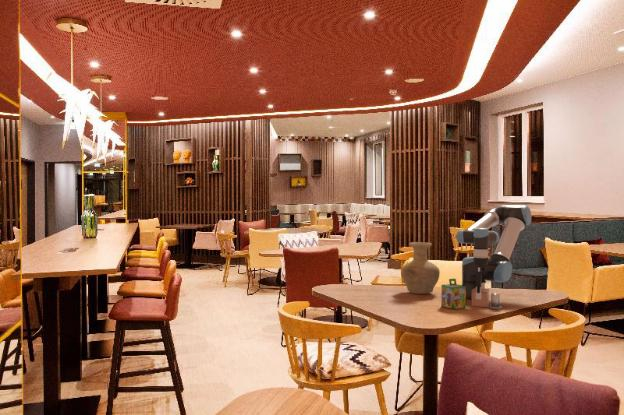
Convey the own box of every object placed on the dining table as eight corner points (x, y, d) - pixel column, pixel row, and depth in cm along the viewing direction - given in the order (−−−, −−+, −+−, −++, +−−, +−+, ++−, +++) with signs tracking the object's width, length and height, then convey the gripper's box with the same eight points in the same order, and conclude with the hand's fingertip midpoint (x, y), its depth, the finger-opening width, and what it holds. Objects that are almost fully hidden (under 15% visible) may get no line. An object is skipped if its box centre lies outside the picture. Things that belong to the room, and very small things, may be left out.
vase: (397, 295, 309) (397, 244, 308) (404, 289, 330) (405, 241, 329) (436, 298, 301) (437, 245, 300) (441, 291, 322) (442, 242, 321)
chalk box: (453, 309, 270) (453, 280, 269) (440, 306, 278) (440, 278, 277) (466, 308, 274) (466, 279, 274) (453, 304, 282) (453, 277, 282)
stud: (487, 308, 272) (487, 294, 272) (488, 306, 279) (489, 292, 278) (501, 310, 269) (501, 295, 269) (503, 307, 276) (503, 293, 276)
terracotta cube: (471, 305, 280) (471, 290, 280) (473, 302, 287) (473, 288, 287) (487, 307, 277) (487, 291, 276) (489, 304, 284) (489, 289, 284)
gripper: (485, 259, 268) (484, 301, 269) (490, 255, 291) (490, 293, 291) (470, 259, 272) (469, 300, 272) (476, 254, 294) (476, 292, 294)
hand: (480, 297), depth 282 cm, fingers open, 13 cm apart
